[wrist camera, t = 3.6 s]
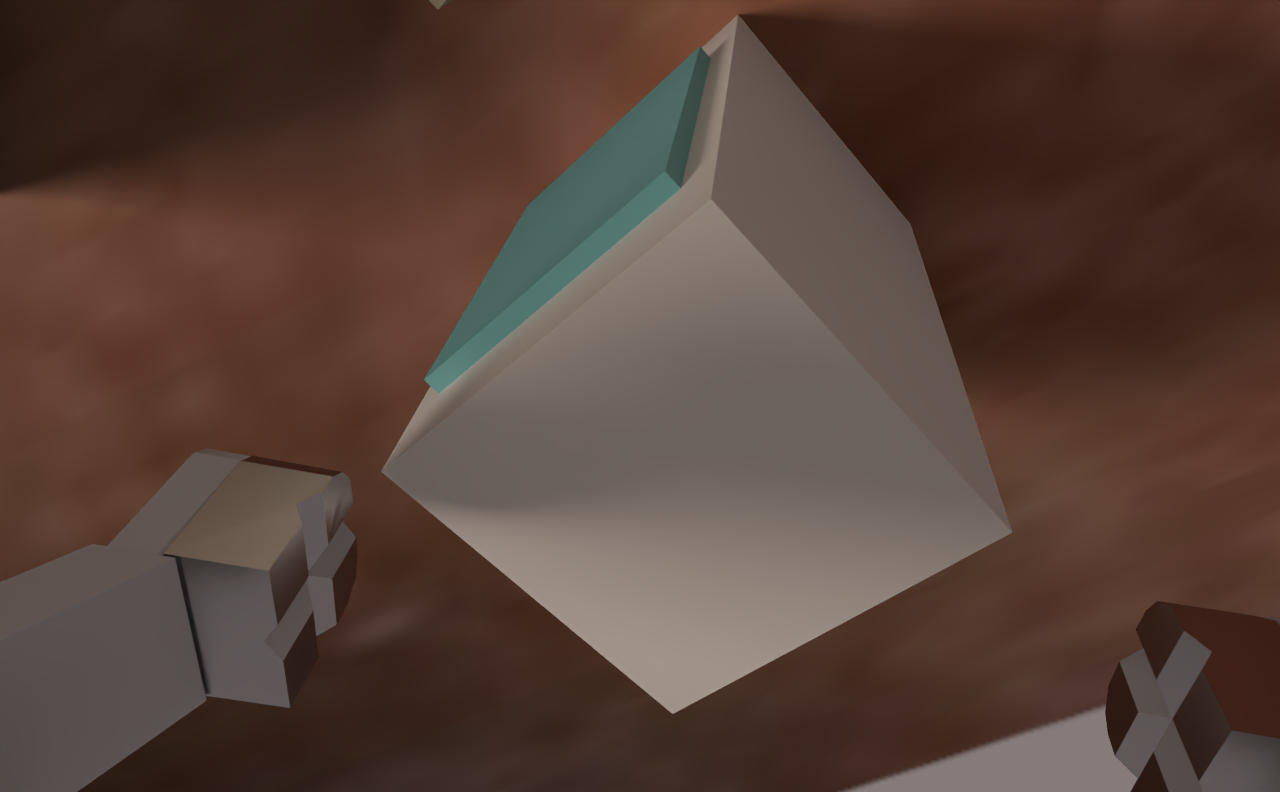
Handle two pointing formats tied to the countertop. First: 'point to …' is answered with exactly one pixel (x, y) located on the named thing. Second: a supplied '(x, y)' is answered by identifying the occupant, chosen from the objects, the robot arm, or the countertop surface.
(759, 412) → the carton
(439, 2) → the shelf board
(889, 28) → the countertop surface
